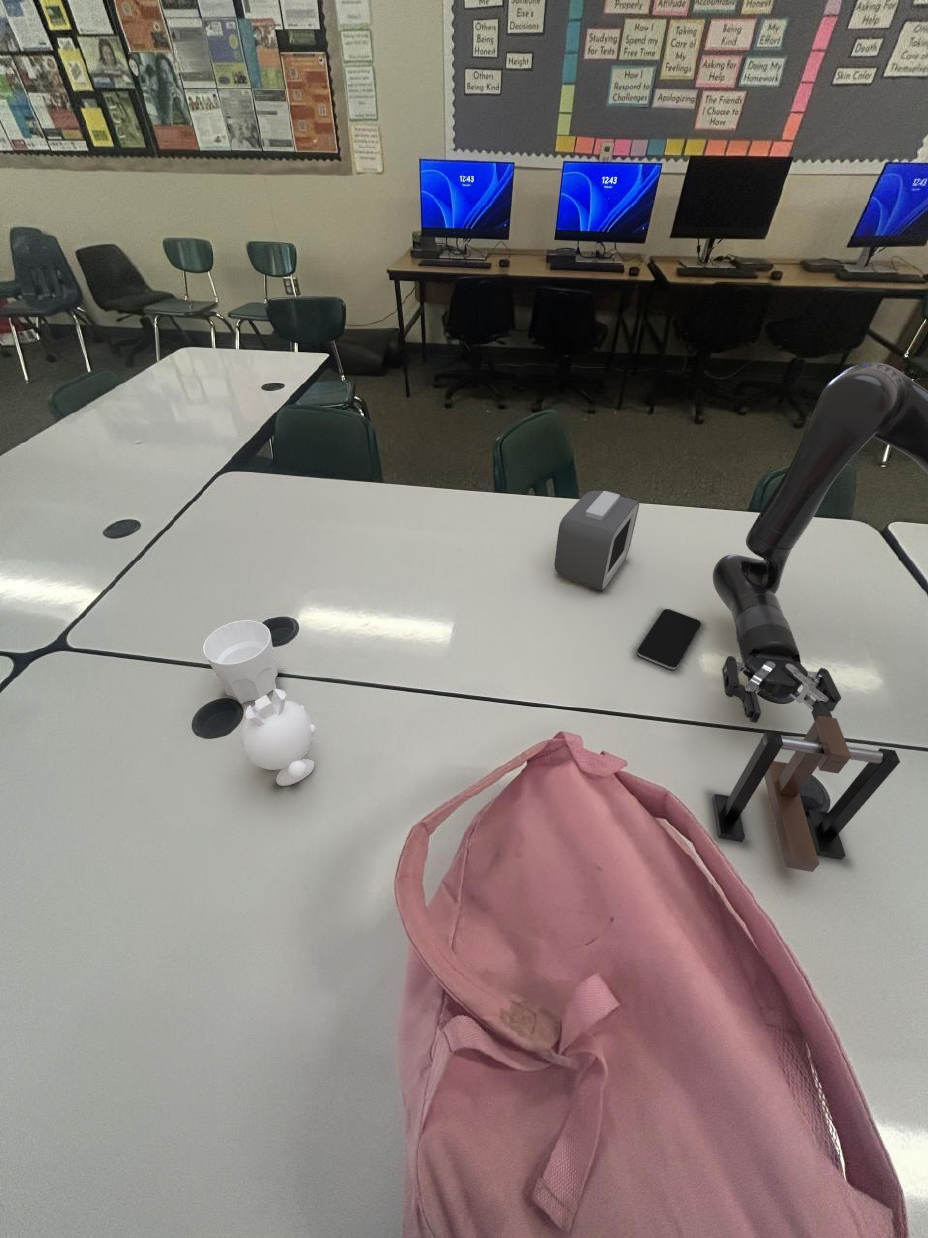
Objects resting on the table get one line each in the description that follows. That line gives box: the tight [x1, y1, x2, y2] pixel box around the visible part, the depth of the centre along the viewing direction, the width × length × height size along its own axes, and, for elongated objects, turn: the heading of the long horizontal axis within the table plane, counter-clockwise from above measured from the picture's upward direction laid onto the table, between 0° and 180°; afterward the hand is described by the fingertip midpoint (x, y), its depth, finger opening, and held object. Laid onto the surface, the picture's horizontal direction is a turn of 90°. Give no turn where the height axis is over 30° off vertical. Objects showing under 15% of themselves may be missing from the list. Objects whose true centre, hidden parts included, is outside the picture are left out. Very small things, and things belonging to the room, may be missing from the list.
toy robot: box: [239, 688, 317, 787], centre depth 77 cm, size 15×10×15 cm, turn 36°
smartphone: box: [636, 608, 702, 670], centre depth 102 cm, size 7×1×15 cm
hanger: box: [763, 716, 851, 873], centre depth 67 cm, size 3×14×15 cm, turn 169°
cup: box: [202, 619, 279, 704], centre depth 91 cm, size 10×10×10 cm
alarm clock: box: [553, 490, 640, 592], centre depth 114 cm, size 16×11×16 cm
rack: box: [712, 730, 901, 860], centre depth 69 cm, size 15×6×18 cm, turn 79°
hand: (790, 723), depth 74 cm, fingers open, 8 cm apart
